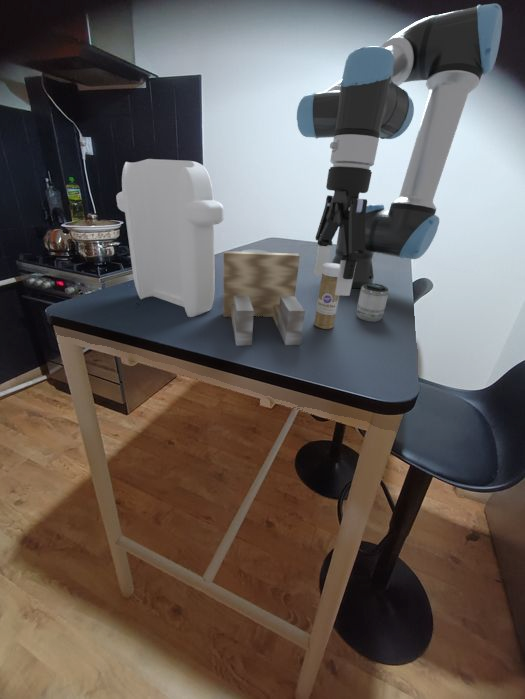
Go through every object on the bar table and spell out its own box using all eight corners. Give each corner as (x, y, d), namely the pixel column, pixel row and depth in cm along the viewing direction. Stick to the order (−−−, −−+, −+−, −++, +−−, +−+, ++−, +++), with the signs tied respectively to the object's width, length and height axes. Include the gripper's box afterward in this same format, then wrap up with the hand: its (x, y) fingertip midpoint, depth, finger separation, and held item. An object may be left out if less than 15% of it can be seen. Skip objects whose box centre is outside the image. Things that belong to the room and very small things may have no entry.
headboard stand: (290, 313, 76) (297, 253, 69) (309, 344, 62) (319, 273, 55) (223, 313, 73) (223, 251, 66) (226, 345, 59) (227, 271, 52)
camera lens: (360, 310, 81) (367, 280, 77) (385, 316, 78) (393, 285, 74) (351, 317, 76) (358, 285, 72) (377, 324, 73) (385, 291, 69)
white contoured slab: (236, 310, 75) (240, 164, 61) (203, 324, 67) (199, 159, 53) (159, 285, 88) (148, 160, 74) (124, 294, 80) (103, 155, 66)
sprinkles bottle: (314, 328, 69) (323, 266, 62) (313, 320, 73) (322, 261, 66) (335, 330, 68) (347, 268, 62) (333, 322, 72) (344, 263, 66)
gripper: (310, 167, 66) (297, 269, 76) (360, 161, 44) (333, 304, 54) (344, 170, 67) (327, 270, 77) (409, 166, 46) (374, 305, 55)
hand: (329, 284), depth 66 cm, fingers open, 13 cm apart
